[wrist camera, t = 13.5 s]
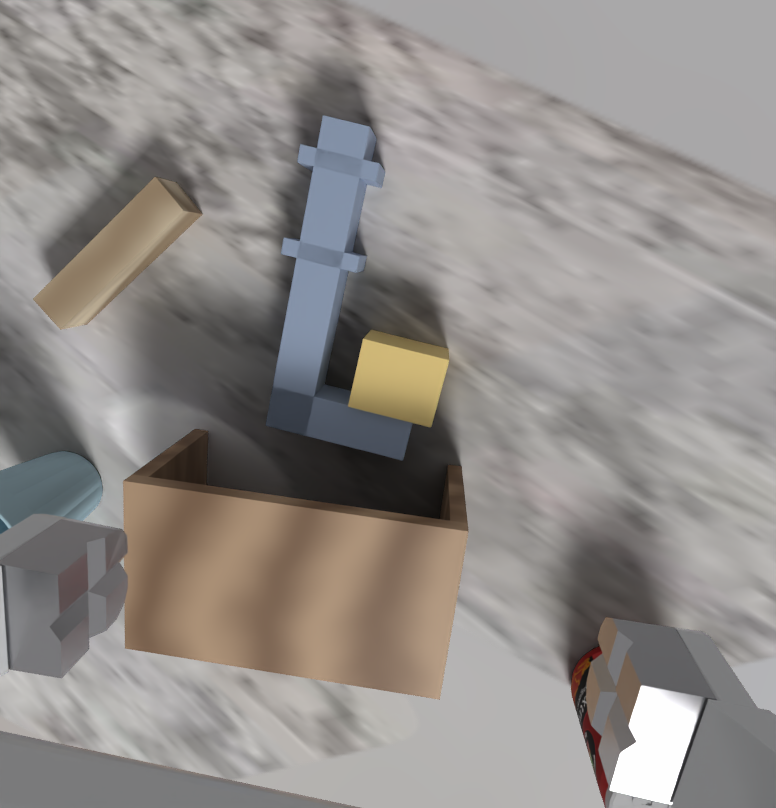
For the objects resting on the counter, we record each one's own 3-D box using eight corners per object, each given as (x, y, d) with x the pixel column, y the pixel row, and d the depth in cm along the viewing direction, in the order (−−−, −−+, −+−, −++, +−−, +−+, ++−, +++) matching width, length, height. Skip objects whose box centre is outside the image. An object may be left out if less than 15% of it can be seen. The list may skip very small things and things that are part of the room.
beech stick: (204, 214, 38) (183, 210, 35) (88, 324, 41) (60, 329, 38) (178, 182, 38) (155, 176, 35) (63, 295, 41) (32, 299, 38)
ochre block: (448, 348, 39) (449, 360, 35) (432, 409, 40) (431, 427, 36) (371, 329, 39) (363, 338, 35) (357, 390, 41) (347, 406, 36)
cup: (134, 512, 45) (44, 587, 35) (53, 539, 46) (-55, 619, 36) (89, 425, 43) (-19, 477, 33) (7, 456, 44) (-120, 515, 34)
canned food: (564, 643, 44) (603, 765, 34) (670, 634, 43) (745, 757, 33) (572, 723, 46) (611, 863, 36) (674, 716, 45) (746, 858, 35)
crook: (478, 163, 36) (483, 154, 32) (405, 443, 41) (402, 460, 38) (319, 124, 36) (306, 111, 33) (266, 407, 41) (251, 422, 38)
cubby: (461, 466, 41) (468, 531, 32) (439, 602, 44) (439, 699, 35) (195, 428, 42) (123, 480, 33) (191, 564, 45) (124, 648, 36)
